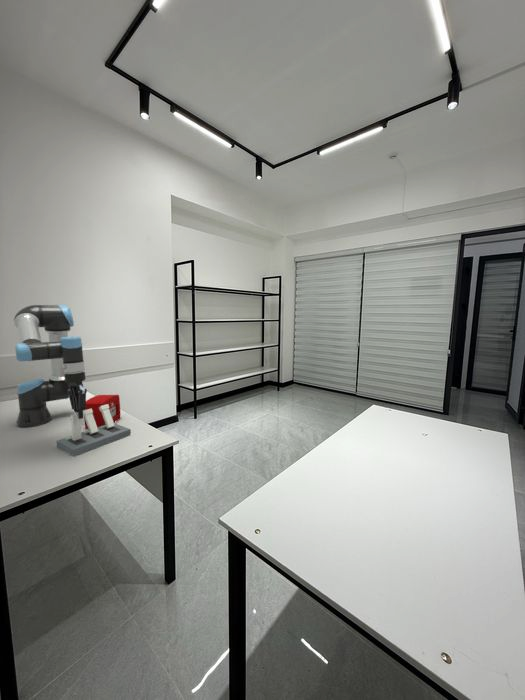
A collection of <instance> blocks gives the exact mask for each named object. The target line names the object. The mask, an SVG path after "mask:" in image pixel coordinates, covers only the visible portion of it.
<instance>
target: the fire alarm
mask: <svg viewBox="0 0 525 700" xmlns="http://www.w3.org/2000/svg"><path fill="white" fill-rule="evenodd" d="M106 404H108V405H109V411H110V414H111V416H112V419H113V422H114V423H116V422H117V421H119V420H120V419H121V401H120V395H119V394H99V395H94V396H92V397H91V398H89V399H86V409H85V410H87V409H91V408H92V411H93V413H92V414H93V417H94V420H95V422H96V425H97V427H100V426H103V425H106V424H105V421H104V418H103V415H102V412H101V411H100V409H99V407H100V406H102V405H106ZM83 411H84V410H83ZM119 418H120V419H119ZM118 419H119V420H118ZM116 420H117V421H116ZM115 421H116V422H115ZM84 426H85V427H84V428H85V430H89V429H88V426H87V423H86V420H85V417H84Z"/></svg>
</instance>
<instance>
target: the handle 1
mask: <svg viewBox="0 0 525 700" xmlns="http://www.w3.org/2000/svg"><path fill="white" fill-rule="evenodd" d="M92 413H93V411H92V408H91V409H87V410H84V411H83V416H84V417H85V420H86V423H87V426H88V429H87V430H89V432H90V434H93V433H96V432H98V428H97V425H96V422H95V420H94V417H93V414H92Z"/></svg>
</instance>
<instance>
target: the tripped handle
mask: <svg viewBox="0 0 525 700" xmlns="http://www.w3.org/2000/svg"><path fill="white" fill-rule="evenodd" d="M69 418H70V421H71V436H72V440H74V441H75V440H78V439H81V433H82V426H79V427H77V426H76V417H75V413H74V414H70V417H69Z"/></svg>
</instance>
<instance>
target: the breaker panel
mask: <svg viewBox="0 0 525 700" xmlns="http://www.w3.org/2000/svg"><path fill="white" fill-rule="evenodd" d="M114 425H115V426H114V427H111V428H108V429H107V426H106V425H103V426H100V427H97V428H98V432H96V433H93V434H90V432H89V429H87V430H85V431H83V432H82V431H81V439H78V440H75V441H74V440H72V435H69V436H67V437H64V438H61V439H60V438H59V439H57V440H56V442H55V444H56V448H58V449H60V450H61V449H62V451H64V452H65V453H67V454H68V453H69V455H70V456H72V457H77V456H80V455H82V454H84V452H85V453H87V452H90V451H93V450H96V449H98V448H100V446H101V447H103V446H105V445H108V444H111V443H114V442H117V441H120V440H121V438H122V439H124V438H127V437H129V436H128V435H130V434H131V435H132V432H131V428H129V427H126V426H123V425H120V424H118V423H116V422H114ZM131 435H130V436H131ZM126 436H127V437H126ZM123 437H124V438H123ZM113 441H114V442H113ZM76 455H77V456H76Z"/></svg>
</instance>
